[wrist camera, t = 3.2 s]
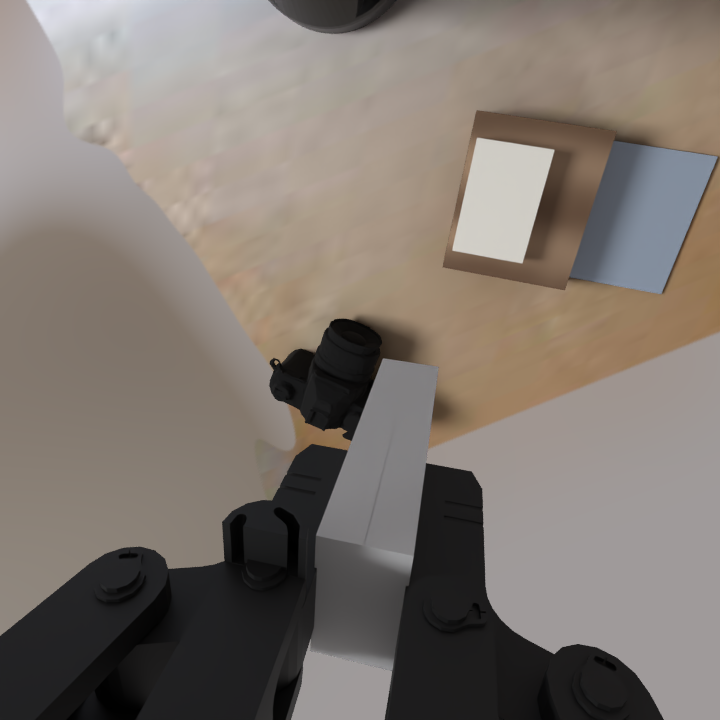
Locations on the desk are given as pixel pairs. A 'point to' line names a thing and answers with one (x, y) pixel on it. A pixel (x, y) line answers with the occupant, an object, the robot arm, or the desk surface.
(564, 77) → the desk surface
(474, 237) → the white rectangular block
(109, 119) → the desk surface
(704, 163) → the mat
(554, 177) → the brown wooden flat block
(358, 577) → the robot arm
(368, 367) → the film camera
